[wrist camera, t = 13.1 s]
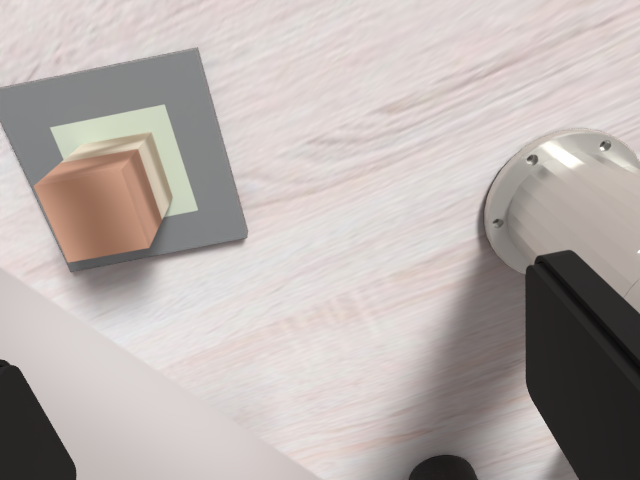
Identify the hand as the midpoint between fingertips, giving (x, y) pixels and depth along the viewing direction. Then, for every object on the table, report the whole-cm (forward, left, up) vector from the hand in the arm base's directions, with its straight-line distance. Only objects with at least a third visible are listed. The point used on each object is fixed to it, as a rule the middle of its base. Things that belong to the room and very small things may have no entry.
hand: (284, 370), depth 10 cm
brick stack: (+12, +4, -29) cm, 32 cm away
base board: (+12, +4, -30) cm, 33 cm away
